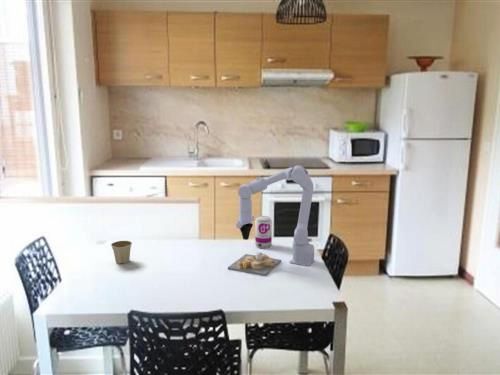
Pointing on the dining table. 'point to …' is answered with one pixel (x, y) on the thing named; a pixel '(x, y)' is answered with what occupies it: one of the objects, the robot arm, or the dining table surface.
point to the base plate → (256, 271)
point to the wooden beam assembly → (256, 262)
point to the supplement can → (263, 232)
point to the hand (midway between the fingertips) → (245, 239)
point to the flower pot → (121, 251)
